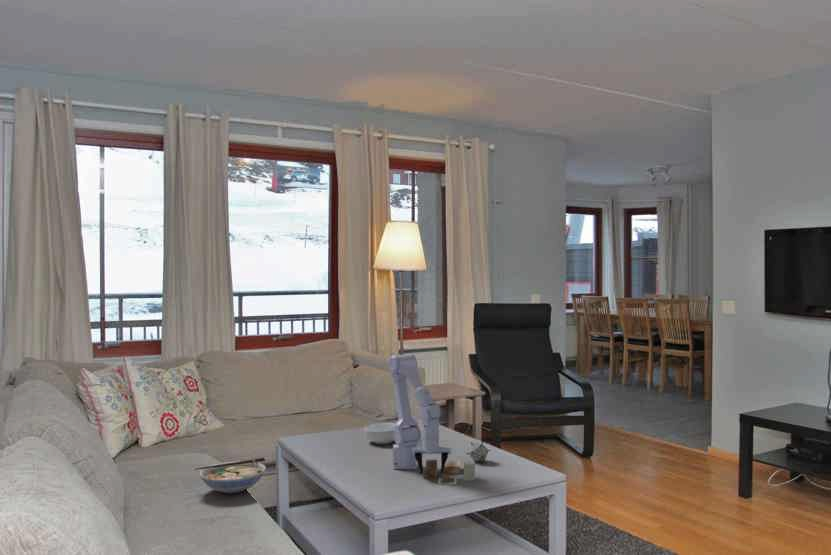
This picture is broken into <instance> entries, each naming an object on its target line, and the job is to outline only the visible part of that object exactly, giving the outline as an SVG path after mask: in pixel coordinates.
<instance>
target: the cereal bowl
mask: <svg viewBox="0 0 831 555" xmlns="http://www.w3.org/2000/svg"><path fill="white" fill-rule="evenodd" d="M395 424H396V423H394V422H378V423H372V424H368V425H366V426H365V427H364V428H363V431H364V432H363V433H364V435H365V437H366V439H367V440H369V441H370V442H373V443H375V444H377V445H389V444H391V443H393V442H395V440H394V425H395Z"/></svg>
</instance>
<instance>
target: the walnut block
mask: <svg viewBox="0 0 831 555" xmlns="http://www.w3.org/2000/svg"><path fill="white" fill-rule="evenodd" d="M425 479H427V480H428V479H429V480H432V479H433V480H435V479H436V480H437V479H438V459H426V461H425Z"/></svg>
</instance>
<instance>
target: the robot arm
mask: <svg viewBox="0 0 831 555" xmlns="http://www.w3.org/2000/svg"><path fill="white" fill-rule="evenodd" d="M387 365H388V369H389V376H390V378H392V386H393V392H394V398H395V399H394V400H395V405H396V412H397V416H398V417H397V418H398V420H397V422H396V423H394V424H395V425H394V442H395V444H393V445H392V448H393V449H392V469H393V470H418V467H419V470H420V471H419V472H420V474H421V475H422V474H423V471H424V470H423V469H424V468H423V454H424V455H426V454H427V455H430V454H431V455H433V454H434V455H437V454H439V455H440V456H441V457H440V462H441V466H440V467H441V468H440V469H441V470H440V474H442V475H443V474H444V473H443V469H444V465H445V462H446V461H448V458H449V455H452V448H451V447H444V446H440V427H439V426H440V425H439V424H440V422H439V421H440V419H441V418H442V417H443V416H442V415H443V411H442V408H441V405H440V404H439V403H437V401H434V398H433V397H432V395H431V392H430V390H429V388H428V387H426V386H424V385H423V382H422V378H421V377H420V374H419V371H418V361H417V357H416V356H415V354H413V353H409V354H408V353H407V354H399V355H398V354H396V355H391V356H390V358H389V360H388V363H387ZM407 378H408V381H409V382H410V384H411V386H412V387H413V389H414V395H413V396H414V398H415V400H416V402H417V403H418V406H419V409H420V412H419V415H420V418H421V424H422V426H423V446H420V447H419V446H418V447H417V444H419V442H420V440H421V437H422V431H421V429H420V427H419V423H418V421H416V420H415V419H414V418H413V417H412V410H411V406H410V400H409V399H410V398H409V392H408V387H407Z"/></svg>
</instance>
